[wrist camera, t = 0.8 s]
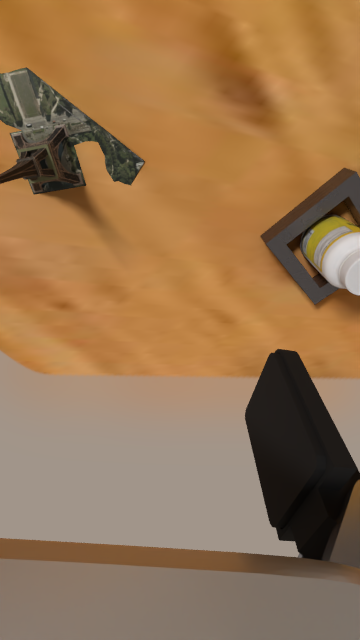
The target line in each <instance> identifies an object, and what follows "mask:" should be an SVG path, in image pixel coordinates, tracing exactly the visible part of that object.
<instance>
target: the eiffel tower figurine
mask: <svg viewBox="0 0 360 640" xmlns="http://www.w3.org/2000/svg"><path fill="white" fill-rule="evenodd" d="M0 120H1V121H2V122H4V123H5V124H6V125H9V126H12V127H15V128H17V129H20V130H22V131H18V132H13V133H10V135H11V138H12V140H13V143H14V145H15V148H16V150H17V153H18V155H19V158H20V159H17V161H16V162H17V164H16V165H15V166H13V167H12V168H11V169H9V170H7V171H5V172H4V173H2V174H0V184H1V183H4V182H8V181H11V180H15V179H19V178H22V177H23V179H25V180H26V179H28V181H29V184H30V186H31V189H32V191H33V194H39V193H45V192H51V191H57V190H63V189H69V188H75V187H80V186H86V183H85V180H84V177H83V173H82V170H81V167H80V163H79V160H78V157H77V154H76V150H75V147H74V145H76V144H79V143H82V142H85V141H95V142H98V143H99V145H100V147H101V149H102V151H103V153H104V155H105V164H106V169H107V171H108V173H109V174H110V176H111V178H112V179H113V181H114V182H115V181H120V182H122V183H124V184H128V185H131V184H132V182H133V180H134V178H135V177H136V175H137V173H138V172H139V170H140V168H141V166H142V165H143V163H144V160H142V159H141V158H140V157H138V156H137V155H136V154H135V153H133V152H132V151H131V150H130V149H128V148H127V147H126V146H125V145H123V144H122V143H121V142H120V141H119V140H117V139H116V138H115V137H114V136H112V135H111V134H110V133H109V132H107V131H106V130H105V129H104V128H102V127H101V126H100V125H98V124H97V123H96V122H95V121H93V120H92V119H91V118H89V117H88V116H87V115H86V114H84V113H83V112H82V111H80V110H79V109H78V108H77V107H75V106H74V105H73V104H72V103H70V102H69V101H68V100H67V99H65V98H64V97H63V96H62V95H60V94H59V93H58V92H57V91H55V90H54V89H53V88H52V87H50V86H49V85H48V84H47V83H45V82H44V81H43V80H42V79H40V78H39V77H38V76H37V75H35V74H34V73H33V72H32V71H31V70H29V69H28V68H27V67H26V68H22V69H18V70H15V71H12V72H10V73H3V74H0Z"/></svg>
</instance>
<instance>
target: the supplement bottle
mask: <svg viewBox="0 0 360 640" xmlns="http://www.w3.org/2000/svg"><path fill="white" fill-rule="evenodd" d="M300 248H301V251H302V253H303V255H304V256H305V258H306V259H307V260H308V261H309V262H310V263H311V264H312V265H313V266H314V267H315V268H316V269H317V270H318V272H319V273H320V274H321V275H322V276H323V277H324V278H325V279H326V280H327V281H328V282H329V283H330V284H332V285H333V286H335V287H338V288H342V289H347V290H348V291H349V292H351V293H353V294H355V295H360V228H359V227H358V226H356V225H354V224H352V223H351V222H349V221H347V220H346V219H344V218H342V217H340V216H337V215H325V216H322V217H321V218H320V219H319V220H317V221H316V222H315V223H313V224H312V225H311V226H310V227H308V228H307V229H306V230H304V232H303V234H302V236H301V240H300Z"/></svg>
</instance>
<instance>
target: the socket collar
mask: <svg viewBox="0 0 360 640" xmlns="http://www.w3.org/2000/svg"><path fill="white" fill-rule="evenodd" d="M343 200H344V202H345V203H346V205H347V207H348V208H349V210H350V212H351V213H352V215H353V216H354V218H355V220H356V221H357V223H358V225H359V226H360V177H359V176H358V174H357V172H355V171H352V170H349V169H346V168H343V169H342V170H341V171H340V172H338V173H337V174H336V175H335V176H333V177H332V178H331V179H330V180H329V181H327V182H326V183H325V184H324V185H322V186H321V187H320V188H319V189H317V190H316V191H315V192H314V193H313V194H311V195H310V196H309V197H308V198H306V199H305V200H304V201H303V202H302V203H300V204H299V205H298V206H297V207H295V208H294V209H293V210H292V211H290V212H289V213H288V214H287V215H286V216H284V217H283V218H282V219H281V220H279V221H278V222H277V223H276V224H275V225H273V226H272V227H271V228H270V229H268V230H267V231H266V232H265V233H263V234H262V235H261V238H262V239H263V240H264V242H265V243H266V245H267V246H268V247H269V248H270V250H271V251H272V252H273V253H274V255H275V256H276V257H277V258H278V260H279V261H280V262H281V263H282V264H283V266H284V267H285V268H286V269H287V271H288V272H289V273H290V274H291V276H292V277H293V278H294V279H295V281H296V282H297V283H298V284H299V286H300V287H301V288H302V289H303V290H304V292H305V293H306V294H307V295H308V297H309V298H310V299H311V300H312V302H313V303H314V304H317V303H318V302H320V301H321V300H323V299H324V298H326V297H327V296H329V295H330V294H332V293H333V292H335V291H336V290H338V289H339V288H338V287H335V286H333V285H332V284H330V283H329V282H328V281H327V280H326V279H325V278H324V277H323V276H322V275H321V274H320V273H319V274H318V275H316V276H315V277H313V278H312V277H311V276H310V275H309V273H308V272H307V271H306V270H305V268H304V267H303V266H302V264H301V263H300V262H299V260H298V259H297V258H296V257H295V255H294V254H293V253H292V251H291V250H290V249H289V248H288V246H287V245H286V244H288V243H289V242H290V241H291V240H293V239H294V238H295V237H297V236H298V235H299V234H301V233H302V232H303V231H304V230H306V229H307V228H308V227H310V226H311V225H312V224H313V223H315V222H316V221H317V220H319V219H320V218H321V217H322V216H324V215H325V214H326V213H328V212H329V211H330V210H331V209H333V208H334V207H335V206H337V205H338V204H339V203H341V202H342V201H343Z"/></svg>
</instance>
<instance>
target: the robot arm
mask: <svg viewBox="0 0 360 640" xmlns="http://www.w3.org/2000/svg"><path fill="white" fill-rule="evenodd" d="M245 420H246V424H247V429H248V433H249V437H250V441H251V445H252V450H253V454H254V458H255V463H256V467H257V471H258V475H259V480H260V484H261V488H262V492H263V497H264V501H265V505H266V509H267V513H268V518H269V521H270V524H271V525H272V527H275V528H276V530H277V534H278V538H279V540H283V541H295V542H296V545H297V549H298V552H299V556H298V558H296V557H285V556H273V555H261V554H248V553H236V552H221V551H205V550H188V549H173V548H158V547H141V546H125V545H108V544H91V543H74V542H57V541H40V540H22V539H4V538H0V640H360V473H359V471H358V469H357V467H356V465H355V463H354V461H353V459H352V457H351V455H350V453H349V451H348V449H347V447H346V445H345V443H344V441H343V439H342V438H341V436H340V434H339V432H338V430H337V428H336V426H335V424H334V422H333V420H332V419H331V417H330V414H329V413H328V411H327V409H326V407H325V405H324V403H323V401H322V399H321V397H320V395H319V393H318V391H317V389H316V387H315V385H314V383H313V382H312V380H311V378H310V376H309V374H308V372H307V370H306V368H305V366H304V364H303V362H302V360H301V358H300V356H299V354H298V353H297V352H295V351H290V350H282V349H277V350H276V351H275V353H271V354H270V355H269V357H268V359H267V361H266V364H265V366H264V368H263V371H262V373H261V375H260V378H259V380H258V383H257V385H256V387H255V390H254V392H253V394H252V397H251V399H250V401H249V404H248V406H247V408H246V413H245Z"/></svg>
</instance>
